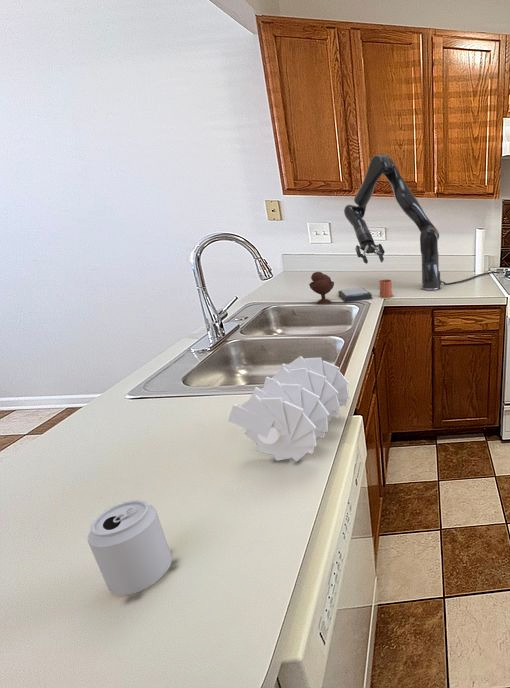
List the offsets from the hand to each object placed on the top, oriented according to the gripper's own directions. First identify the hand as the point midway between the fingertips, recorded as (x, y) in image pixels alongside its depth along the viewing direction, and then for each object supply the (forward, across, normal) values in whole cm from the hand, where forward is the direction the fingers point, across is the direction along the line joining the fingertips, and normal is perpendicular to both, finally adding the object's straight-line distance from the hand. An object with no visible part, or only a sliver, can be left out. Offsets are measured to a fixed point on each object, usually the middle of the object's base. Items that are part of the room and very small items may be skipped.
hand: (374, 262), depth 206 cm
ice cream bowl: (+15, -29, +8) cm, 34 cm away
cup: (+19, 0, +3) cm, 19 cm away
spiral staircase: (+88, -68, -65) cm, 128 cm away
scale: (+15, -14, +8) cm, 21 cm away
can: (+103, -97, -81) cm, 163 cm away
